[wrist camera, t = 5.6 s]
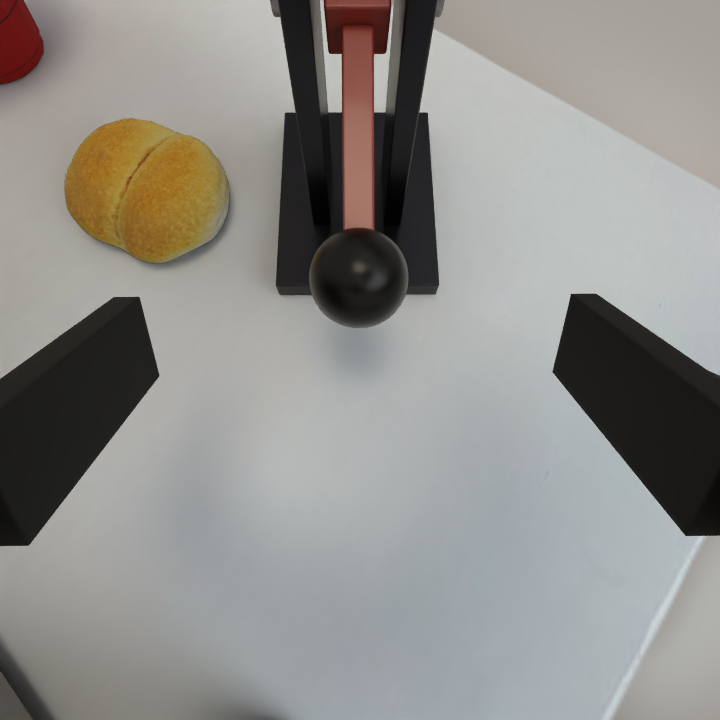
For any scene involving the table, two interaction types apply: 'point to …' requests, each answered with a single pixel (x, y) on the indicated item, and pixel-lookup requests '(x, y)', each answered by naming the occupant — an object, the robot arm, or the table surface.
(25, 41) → the plastic cup
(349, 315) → the lever
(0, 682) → the toaster
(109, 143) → the bread roll
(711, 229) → the table surface
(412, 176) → the bracket
